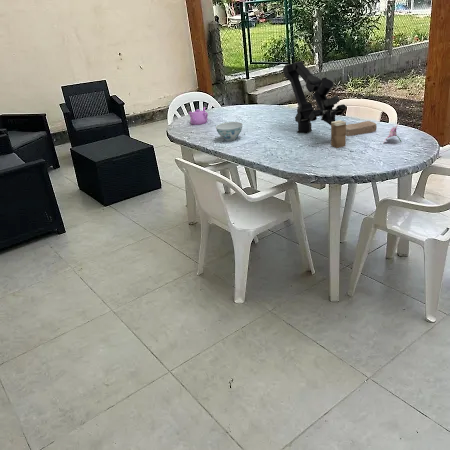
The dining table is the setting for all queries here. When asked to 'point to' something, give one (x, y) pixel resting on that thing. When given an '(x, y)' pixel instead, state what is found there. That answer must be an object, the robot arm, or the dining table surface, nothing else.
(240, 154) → the dining table surface
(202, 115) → the teapot
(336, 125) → the walnut block
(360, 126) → the brick
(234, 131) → the chinaware
